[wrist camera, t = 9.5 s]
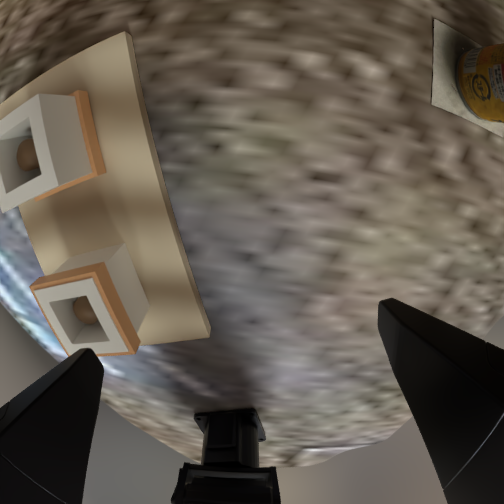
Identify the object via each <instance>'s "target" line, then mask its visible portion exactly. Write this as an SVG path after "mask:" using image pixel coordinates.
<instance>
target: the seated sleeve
mask: <svg viewBox="0 0 504 504" xmlns="http://www.w3.org/2000/svg"><path fill="white" fill-rule="evenodd" d="M29 287H30V289H31V291H32V293H33V295H34V297H35V299H36V301H37V303H38V305H39V307H40V309H41V311H42V313H43V315H44V316H45V318H46V320H47V322H48V324H49V325H50V327H51V329H52V331H53V332H54V334H55V336H56V337H57V339H58V341H59V342H60V344H61V346H62V347H63V349H64V350H65V352H66V354H67V355H68V357H69V356H71V355H72V354H73V353H75V352H76V351H77V350H79V349H81V348H91V349H92V350H93V351H94V352H95V354H96V355H97V356H115V355H129V354H136V352H137V349H138V347H139V345H140V342H141V341H140V339H139V337H138V335H137V333H138V331H139V328H140V326H141V324H142V322H143V320H144V318H145V316H146V314H147V312H148V310H149V307H150V305H149V302H148V300H147V298H146V295H145V293H144V290H143V288H142V286H141V283H140V281H139V278H138V276H137V273H136V271H135V268H134V265H133V263H132V260H131V258H130V255H129V252H128V249H127V247H126V244H125V243H122V244H118V245H114V246H110V247H106V248H102V249H99V250H95V251H91V252H87V253H84V254H80V255H76V256H72V257H70V258H69V259H67V260H66V261H65V262H64V263H63V264H62V265H61V266H60V267H58V268H57V269H56V270H55V271H54V272H53V273H52V274H51V275H47V276H43V277H39V278H38V279H37V280H36V281H35V282H34V283H33V284H31V285H30V286H29ZM80 296H87V298H88V300H89V302H90V304H91V306H92V308H93V310H94V312H95V314H96V316H97V318H98V320H97V321H96V322H95V323H94V324H85V323H83V322H81V321H80V320H79V319H78V318H77V317H76V315H75V314H74V311H73V304H74V303H75V301H76V300H77V299H78V298H79V297H80Z"/></svg>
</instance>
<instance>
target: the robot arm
mask: <svg viewBox="0 0 504 504" xmlns="http://www.w3.org/2000/svg"><path fill="white" fill-rule="evenodd" d="M378 330H379V333H380V336H381V338H382V341H383V344H384V347H385V350H386V353H387V355H388V358H389V361H390V364H391V367H392V370H393V373H394V375H395V377H396V379H397V382H398V384H399V386H400V388H401V390H402V392H403V394H404V397H405V399H406V401H407V403H408V405H409V407H410V410H411V412H412V414H413V416H414V419H415V421H416V423H417V426H418V428H419V430H420V433H421V435H422V437H423V440H424V442H425V445H426V447H427V449H428V452H429V454H430V457H431V459H432V462H433V464H434V467H435V470H436V472H437V475H438V478H439V480H440V483H441V486H442V488H443V489H444V490H443V492H444V494H445V497H446V500H447V503H448V504H504V349H501V348H499V347H497V346H495V345H493V344H491V343H489V342H485V341H484V340H482V339H480V338H478V337H476V336H474V335H472V334H469V333H467V332H465V331H463V330H461V329H459V328H457V327H455V326H453V325H450V324H448V323H446V322H444V321H442V320H440V319H438V318H435V317H433V316H431V315H429V314H427V313H425V312H422V311H420V310H418V309H416V308H414V307H412V306H409V305H407V304H405V303H403V302H401V301H399V300H396V299H394V298H389V299H385V300H381V301H380V302H379V305H378ZM103 376H104V368H103V365H102V363H101V362H100V360H99V359H98V357H97V355H96V354H95V352H94V351H93V350H92V349H91V348H81V349H79V350H77V351H76V352H75V353H73V354H72V355H71V356H69V357H68V358H66V359H65V360H64V361H62V362H61V363H60V364H58V365H57V366H56V367H54V368H53V369H51V370H50V371H49V372H47V373H46V374H45V375H43V376H42V377H41V378H39V379H38V380H37V381H35V382H34V383H33V384H31V385H30V386H29V387H27V388H26V389H25V390H23V391H22V392H21V393H19V394H18V395H17V396H16V397H14V398H13V399H11V400H10V402H7V403H6V404H5V405H3V406H2V407H1V408H0V504H82V499H83V491H84V484H85V478H86V471H87V465H88V459H89V453H90V448H91V443H92V438H93V433H94V428H95V424H96V419H97V415H98V410H99V403H100V396H101V389H102V382H103ZM194 420H195V421H196V423H197V425H198V426H199V428H200V429H201V431H202V432H203V434H204V439H203V448H202V458H201V465H197V464H190V463H186V462H184V466H183V468H180V470H179V477H178V482H177V485H176V488H175V490H174V493H173V495H172V498H171V503H172V504H281V499H280V492H279V486H278V479H277V473H276V467H275V466H274V467H263V468H259V443H258V442H262V441H265V440H266V436H265V433H264V431H263V428H262V425H261V423H260V420H259V417H258V415H257V412H256V410H255V409H243V410H234V411H224V412H212V413H198V414H195V415H194Z"/></svg>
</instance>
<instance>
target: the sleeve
mask: <svg viewBox="0 0 504 504" xmlns="http://www.w3.org/2000/svg"><path fill="white" fill-rule="evenodd" d="M32 138H33V140H34V145H35V149H36V154H37V158H38V162H39V166H40V168H36V169H33V170H30V171H24V170H22V169H21V168H20V167H19V165H18V163H17V149H18V147H19V145H20V143H21V142H22V141H24V140H26V139H32ZM104 173H106V169H105V165H104V162H103V158H102V154H101V150H100V146H99V142H98V138H97V134H96V130H95V125H94V121H93V116H92V112H91V107H90V102H89V97H88V92H87V91H81V90H77V91H75V92H73V93H71V94H69V95H68V96H66V95H54V94H37V95H35V96H34V97H32V98H31V99H29V100H28V101H26V102H25V103H23V104H22V105H21V106H19V107H18V108H16V109H15V110H14V111H12V112H11V113H9V114H8V115H7V116H5V117H4V118H3V119H2V120H0V207H1V210H2V213H4V212H6V211H8V210H10V209H12V208H14V207H16V206H18V205H20V204H22V203H24V202H27V201H29V200H31V199H33V198H34V199H35V202H37V201H39V200H41V199H44V198H46V197H48V196H50V195H52V194H55V193H57V192H59V191H62V190H64V189H66V188H69V187H71V186H74V185H76V184H78V183H81V182H83V181H86V180H88V179H91V178H94V177H96V176H99V175H101V174H104Z"/></svg>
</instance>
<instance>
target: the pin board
mask: <svg viewBox="0 0 504 504" xmlns="http://www.w3.org/2000/svg"><path fill="white" fill-rule="evenodd" d="M77 90H81V91H87V92H88V97H89V102H90V107H91V112H92V116H93V121H94V125H95V130H96V134H97V138H98V142H99V146H100V150H101V154H102V158H103V162H104V165H105V169H106V173H104V174H101V175H99V176H96V177H94V178H91V179H88V180H86V181H83V182H81V183H78V184H76V185H74V186H71V187H69V188H66V189H64V190H62V191H59V192H57V193H55V194H52V195H50V196H48V197H46V198H44V199H41V200H39V201H37V202H35V199H34V198H33V199H31V200H29V201H27V202H24V203H22V204H20V205H18V206H19V210H20V213H21V216H22V219H23V222H24V224H25V227H26V230H27V233H28V236H29V238H30V241H31V244H32V246H33V249H34V251H35V254H36V256H37V259H38V261H39V263H40V266H41V268H42V270H43V272H44V275H45V276H47V275H51V274H52V273H53V272H54V271H55V270H56V269H57V268H58V267H60V266H61V265H62V264H63V263H64V262H65V261H66V260H67V259H69V258H70V257H72V256H76V255H80V254H84V253H87V252H91V251H95V250H99V249H102V248H106V247H110V246H114V245H118V244H122V243H125V244H126V247H127V249H128V252H129V255H130V258H131V260H132V263H133V265H134V268H135V271H136V273H137V276H138V278H139V281H140V283H141V286H142V288H143V290H144V293H145V295H146V298H147V300H148V302H149V305H150V307H149V310H148V312H147V314H146V316H145V318H144V320H143V322H142V324H141V326H140V328H139V331H138V333H137V335H138V337H139V339H140V341H141V342H140V345H139V346H142V345H152V344H161V343H170V342H178V341H186V340H194V339H201V338H208V337H210V331H211V326H210V323H209V320H208V318H207V315H206V312H205V309H204V306H203V304H202V301H201V298H200V295H199V292H198V289H197V286H196V283H195V280H194V277H193V274H192V271H191V268H190V265H189V262H188V259H187V256H186V253H185V249H184V246H183V243H182V240H181V237H180V233H179V230H178V227H177V223H176V220H175V217H174V213H173V210H172V206H171V203H170V199H169V196H168V192H167V189H166V185H165V182H164V178H163V174H162V171H161V167H160V163H159V159H158V155H157V151H156V148H155V144H154V140H153V135H152V131H151V127H150V123H149V119H148V114H147V110H146V106H145V101H144V97H143V92H142V87H141V83H140V78H139V73H138V68H137V63H136V58H135V52H134V47H133V41H132V36H131V35H130V34H128V33H127V32H125V31H124V32H121V33H119V34H117V35H115V36H112V37H110V38H108V39H106V40H104V41H101V42H99V43H97V44H95V45H93V46H91V47H89V48H87V49H85V50H83V51H81V52H79V53H78V54H76V55H74V56H72V57H70V58H68V59H67V60H65V61H63V62H61V63H60V64H58V65H56V66H55V67H53V68H51V69H50V70H48V71H47V72H45V73H43V74H42V75H40V76H39V77H37V78H36V79H34V80H33V81H31V82H30V83H28V84H27V85H25V86H24V87H23V88H21V89H20V90H18V91H17V92H16V93H14V94H13V95H12V96H10V97H9V98H8V99H6V100H5V101H4V102H3V103H1V104H0V120H2V119H3V118H4V117H5V116H7V115H8V114H9V113H11V112H12V111H14V110H15V109H16V108H18V107H19V106H21V105H22V104H23V103H25V102H26V101H28V100H29V99H31V98H32V97H34V96H35V95H37V94H54V95H66V96H68V95H69V94H71V93H73V92H75V91H77ZM17 163H18V165H19V167H20V168H21V169H22V170H24V171H30V170H33V169H36V168H40V166H39V162H38V158H37V154H36V149H35V145H34V140H33V138H32V139H26V140H24V141H22V142H21V143H20V145H19V147H18V149H17ZM73 311H74V314H75V315H76V317H77V318H78V319H79V320H80V321H81V322H83V323H85V324H94V323H95V322H96V321H97V320H98V318H97V316H96V314H95V312H94V310H93V308H92V306H91V304H90V302H89V300H88V298H87V296H80V297H79V298H78V299H77V300H76V301H75V303H74V304H73Z"/></svg>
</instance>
